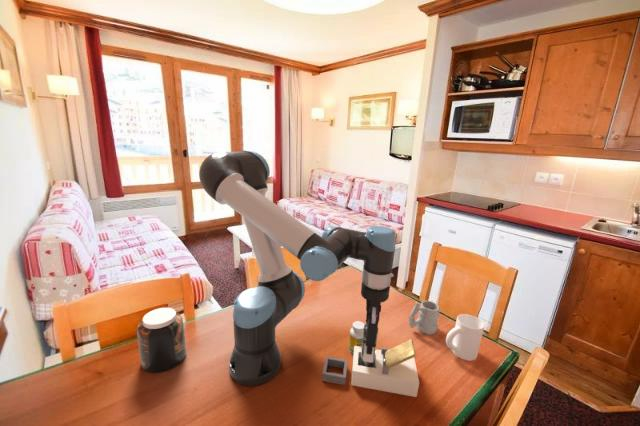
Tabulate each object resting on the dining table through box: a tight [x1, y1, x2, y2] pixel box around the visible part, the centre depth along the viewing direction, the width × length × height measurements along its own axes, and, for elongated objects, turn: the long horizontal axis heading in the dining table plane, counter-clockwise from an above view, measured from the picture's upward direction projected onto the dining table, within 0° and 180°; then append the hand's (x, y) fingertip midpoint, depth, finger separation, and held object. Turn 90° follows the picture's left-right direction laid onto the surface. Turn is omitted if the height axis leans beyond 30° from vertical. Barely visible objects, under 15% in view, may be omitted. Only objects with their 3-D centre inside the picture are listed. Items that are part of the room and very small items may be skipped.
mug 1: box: [408, 300, 440, 336], centre depth 104 cm, size 8×12×12 cm, turn 105°
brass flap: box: [383, 339, 417, 368], centre depth 81 cm, size 10×6×1 cm
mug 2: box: [445, 313, 485, 362], centre depth 93 cm, size 8×12×12 cm
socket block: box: [350, 346, 420, 398], centre depth 83 cm, size 18×10×7 cm, turn 80°
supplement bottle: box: [348, 320, 366, 355], centre depth 93 cm, size 5×5×10 cm
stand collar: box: [321, 356, 348, 386], centre depth 84 cm, size 7×7×2 cm
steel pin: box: [360, 323, 379, 368], centre depth 82 cm, size 4×4×16 cm
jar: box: [136, 307, 187, 374], centre depth 84 cm, size 12×12×15 cm
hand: (367, 354), depth 83 cm, fingers closed on steel pin, 4 cm apart
